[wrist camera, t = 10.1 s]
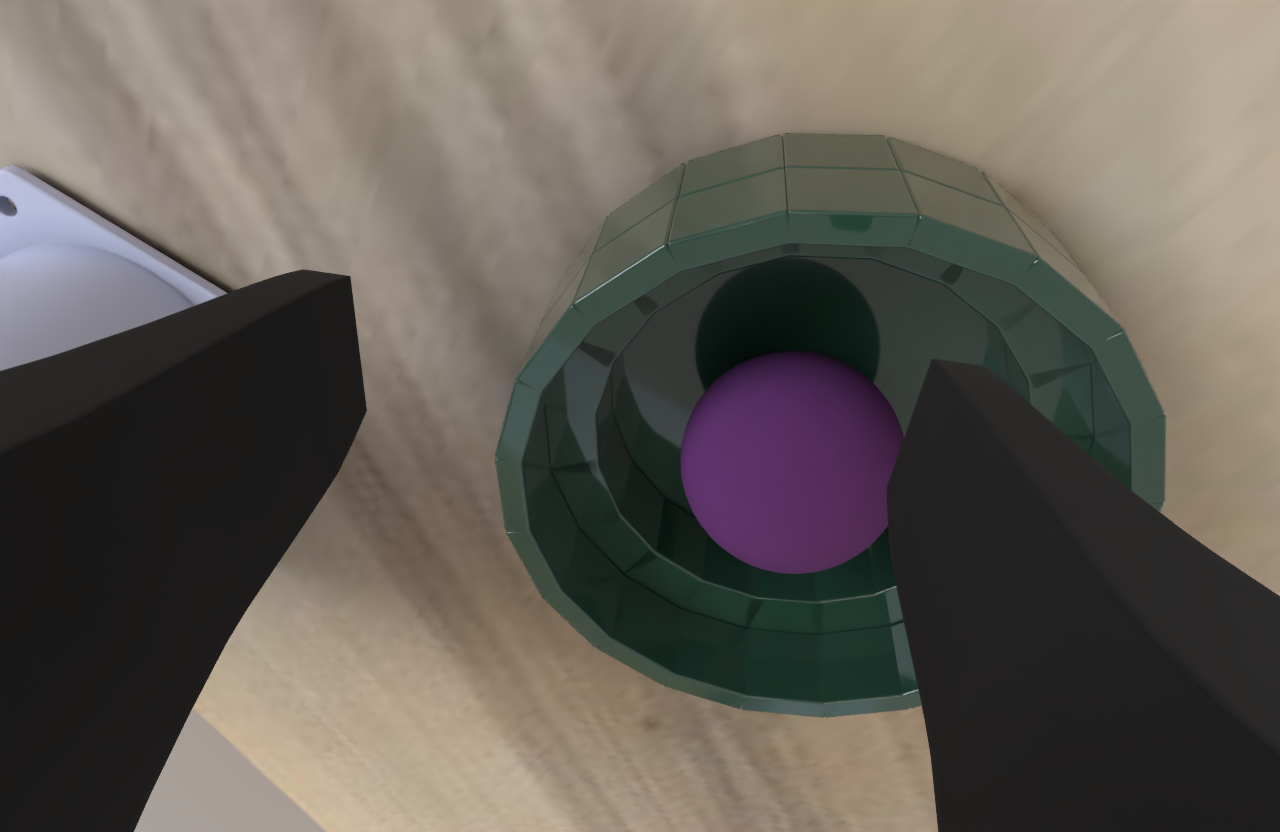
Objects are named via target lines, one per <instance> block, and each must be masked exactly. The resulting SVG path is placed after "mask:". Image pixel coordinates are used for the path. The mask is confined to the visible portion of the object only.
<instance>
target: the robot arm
mask: <svg viewBox="0 0 1280 832" xmlns="http://www.w3.org/2000/svg"><path fill="white" fill-rule="evenodd" d="M8 198H9V199H10V200H11V201H12V202H13V203H14V204H15V206H16V208H17V209H16V208H15V207H13V206H12V205H11V203H10V202H9V200H8ZM366 411H367V409H366V401H365V392H364V384H363V376H362V368H361V360H360V352H359V344H358V336H357V327H356V319H355V311H354V303H353V295H352V287H351V279H350V276H346V275H338V274H331V273H324V272H317V271H310V270H298V271H294V272H290V273H286V274H282V275H279V276H276V277H272V278H269V279H266V280H263V281H260V282H258V283H255V284H252V285H249V286H246V287H243V288H241V289H238V290H235V291H233V292H230V293H227V292H225V291H223V290H222V289H220V288H218V287H217V286H215V285H213V284H212V283H210V282H208V281H207V280H205V279H204V278H202V277H200V276H199V275H197V274H195V273H194V272H192V271H190V270H189V269H187V268H185V267H184V266H182V265H180V264H179V263H177V262H175V261H174V260H172V259H171V258H169V257H167V256H166V255H164V254H162V253H161V252H159V251H157V250H156V249H154V248H152V247H151V246H149V245H147V244H146V243H144V242H142V241H141V240H139V239H137V238H136V237H134V236H133V235H131V234H129V233H128V232H126V231H124V230H123V229H121V228H119V227H118V226H116V225H114V224H113V223H111V222H109V221H108V220H106V219H104V218H103V217H101V216H100V215H98V214H96V213H95V212H93V211H91V210H90V209H88V208H86V207H85V206H83V205H81V204H80V203H78V202H76V201H75V200H73V199H71V198H70V197H68V196H66V195H65V194H63V193H62V192H60V191H58V190H57V189H55V188H53V187H52V186H50V185H48V184H47V183H45V182H43V181H42V180H40V179H38V178H37V177H35V176H33V175H32V174H30V173H29V172H27V171H25V170H23V169H21V168H19V167H16V166H6V167H4V168H2V169H0V832H134V830H135V828H136V825H137V823H138V821H139V819H140V816H141V814H142V812H143V810H144V807H145V805H146V803H147V801H148V799H149V796H150V794H151V792H152V790H153V788H154V786H155V784H156V782H157V780H158V777H159V775H160V773H161V771H162V769H163V767H164V765H165V763H166V761H167V759H168V757H169V755H170V753H171V751H172V749H173V746H174V745H175V743H176V740H177V738H178V736H179V734H180V732H181V730H182V728H183V726H184V723H185V722H186V720H187V718H188V716H189V714H190V712H191V710H192V708H193V706H194V704H195V702H196V700H197V698H198V696H199V695H200V693H201V691H202V689H203V687H204V685H205V683H206V681H207V679H208V677H209V675H210V674H211V672H212V670H213V668H214V666H215V664H216V662H217V660H218V658H219V656H220V654H221V653H222V651H223V649H224V647H225V645H226V643H227V641H228V639H229V638H230V636H231V635H232V633H233V631H234V630H235V628H236V626H237V625H238V623H239V621H240V620H241V618H242V616H243V615H244V613H245V612H246V610H247V608H248V607H249V605H250V604H251V602H252V601H253V599H254V598H255V596H256V595H257V594H258V592H259V591H260V589H261V588H262V586H263V585H264V583H265V582H266V580H267V579H268V577H269V576H270V574H271V573H272V571H273V570H274V568H275V567H276V565H277V564H278V562H279V561H280V559H281V558H282V556H283V555H284V554H285V552H286V551H287V549H288V548H289V546H290V545H291V543H292V542H293V540H294V539H295V537H296V536H297V534H298V533H299V531H300V530H301V528H302V527H303V525H304V524H305V522H306V521H307V519H308V518H309V516H310V515H311V513H312V512H313V510H314V509H315V507H316V506H317V504H318V503H319V501H320V500H321V498H322V497H323V495H324V494H325V492H326V491H327V489H328V488H329V486H330V484H331V483H332V481H333V480H334V478H335V477H336V475H337V473H338V472H339V470H340V468H341V466H342V464H343V461H344V459H345V457H346V455H347V453H348V451H349V449H350V447H351V445H352V443H353V441H354V438H355V436H356V434H357V432H358V429H359V427H360V425H361V423H362V420H363V418H364V416H365V414H366ZM886 491H887V512H888V530H889V543H890V556H891V562H892V567H893V572H894V577H895V582H896V587H897V592H898V597H899V602H900V606H901V611H902V616H903V621H904V625H905V630H906V634H907V639H908V644H909V648H910V653H911V658H912V662H913V667H914V672H915V676H916V681H917V686H918V690H919V695H920V699H921V704H922V709H923V713H924V718H925V724H926V730H927V736H928V742H929V748H930V754H931V763H932V773H933V783H934V792H935V802H936V812H937V822H938V832H1280V596H1279V595H1277V594H1275V593H1274V592H1272V591H1271V590H1269V589H1268V588H1266V587H1265V586H1263V585H1262V584H1260V583H1259V582H1257V581H1256V580H1254V579H1253V578H1251V577H1250V576H1248V575H1247V574H1245V573H1244V572H1242V571H1241V570H1239V569H1238V568H1237V567H1235V566H1234V565H1232V564H1231V563H1229V562H1228V561H1226V560H1225V559H1223V558H1222V557H1220V556H1219V555H1217V554H1216V553H1214V552H1213V551H1211V550H1210V549H1208V548H1207V547H1206V546H1204V545H1203V544H1201V543H1200V542H1199V541H1197V540H1196V539H1194V538H1193V537H1192V536H1190V535H1189V534H1187V533H1186V532H1185V531H1183V530H1182V529H1181V528H1179V527H1178V526H1177V525H1175V524H1174V523H1173V522H1172V521H1170V520H1169V519H1168V518H1166V517H1165V516H1164V515H1163V514H1161V513H1160V512H1159V511H1157V510H1156V509H1155V508H1154V507H1152V506H1151V505H1150V504H1148V503H1147V502H1146V501H1144V500H1143V499H1142V498H1141V497H1139V496H1138V495H1137V494H1135V493H1134V492H1133V491H1132V490H1130V489H1129V488H1128V487H1127V486H1126V485H1124V484H1123V483H1122V482H1121V481H1119V480H1118V479H1117V478H1116V477H1115V476H1113V475H1112V474H1111V473H1110V472H1108V471H1107V470H1106V469H1105V468H1104V467H1103V466H1101V465H1100V464H1099V463H1098V462H1097V461H1095V460H1094V459H1093V458H1092V457H1091V456H1090V455H1088V454H1087V453H1086V452H1085V451H1084V450H1083V449H1081V448H1080V447H1079V446H1078V445H1077V444H1076V443H1074V442H1073V441H1072V440H1071V439H1070V438H1069V437H1068V436H1066V435H1065V434H1064V433H1063V432H1062V431H1061V430H1060V429H1058V428H1057V427H1056V426H1055V425H1054V424H1053V423H1052V422H1051V421H1049V420H1048V419H1047V418H1046V417H1045V416H1044V415H1043V414H1041V413H1040V412H1039V411H1038V410H1037V409H1036V408H1035V407H1034V406H1032V405H1031V404H1030V403H1029V402H1028V401H1027V400H1026V399H1024V398H1023V397H1022V396H1021V395H1020V394H1019V393H1017V392H1016V391H1015V390H1014V389H1013V388H1012V387H1010V386H1009V385H1008V384H1007V383H1006V382H1004V381H1003V380H1002V379H1001V378H999V377H998V376H997V375H996V374H994V373H993V372H991V371H990V370H989V369H987V368H986V367H984V366H981V365H974V364H967V363H960V362H953V361H946V360H939V359H932V360H931V363H930V365H929V368H928V371H927V374H926V377H925V380H924V383H923V385H922V388H921V391H920V394H919V397H918V400H917V402H916V405H915V408H914V411H913V414H912V417H911V420H910V422H909V425H908V428H907V431H906V434H905V437H904V439H903V442H902V445H901V448H900V451H899V454H898V456H897V459H896V462H895V465H894V468H893V471H892V474H891V476H890V479H889V482H888V485H887V488H886Z"/></svg>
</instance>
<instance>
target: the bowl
mask: <svg viewBox="0 0 1280 832" xmlns="http://www.w3.org/2000/svg"><path fill="white" fill-rule="evenodd" d="M788 350H796V351H808V352H815V353H819V354H823V355H827V356H830V357H832V358H835V359H838V360H840V361H842V362H844V363H846V364H848V365H850V366H851V367H853V368H854V369H856V370H857V371H859V372H860V373H862V374H863V375H865V376H866V377H867V378H868V379H869V380H870V381H871V382H873V383H874V384H875V385H876V386H877V388H878V389H879V390H880V391H881V392H882V394H883V395H884V396H885V397H886V399H887V400H888V402H889V403H890V405H891V406H892V408H893V410H894V411H895V414H896V416H897V418H898V421H899V423H900V426H901V428H902V431H903V435H904V437H905V434H906V431H907V428H908V425H909V422H910V420H911V417H912V414H913V411H914V408H915V405H916V402H917V400H918V397H919V394H920V391H921V388H922V385H923V383H924V380H925V377H926V374H927V371H928V368H929V365H930V363H931V360H932V359H939V360H946V361H953V362H960V363H967V364H974V365H981V366H984V367H986V368H987V369H989V370H990V371H991V372H993V373H994V374H996V375H997V376H998V377H999V378H1001V379H1002V380H1003V381H1004V382H1006V383H1007V384H1008V385H1009V386H1010V387H1012V388H1013V389H1014V390H1015V391H1016V392H1017V393H1019V394H1020V395H1021V396H1022V397H1023V398H1024V399H1026V400H1027V401H1028V402H1029V403H1030V404H1031V405H1032V406H1034V407H1035V408H1036V409H1037V410H1038V411H1039V412H1040V413H1041V414H1043V415H1044V416H1045V417H1046V418H1047V419H1048V420H1049V421H1051V422H1052V423H1053V424H1054V425H1055V426H1056V427H1057V428H1058V429H1060V430H1061V431H1062V432H1063V433H1064V434H1065V435H1066V436H1068V437H1069V438H1070V439H1071V440H1072V441H1073V442H1074V443H1076V444H1077V445H1078V446H1079V447H1080V448H1081V449H1083V450H1084V451H1085V452H1086V453H1087V454H1088V455H1090V456H1091V457H1092V458H1093V459H1094V460H1095V461H1097V462H1098V463H1099V464H1100V465H1101V466H1103V467H1104V468H1105V469H1106V470H1107V471H1108V472H1110V473H1111V474H1112V475H1113V476H1115V477H1116V478H1117V479H1118V480H1119V481H1121V482H1122V483H1123V484H1124V485H1126V486H1127V487H1128V488H1129V489H1130V490H1132V491H1133V492H1134V493H1135V494H1137V495H1138V496H1139V497H1141V498H1142V499H1143V500H1144V501H1146V502H1147V503H1148V504H1150V505H1151V506H1152V507H1154V508H1155V509H1156V510H1157V511H1159V512H1160V511H1161V509H1162V507H1163V502H1165V468H1166V416H1165V414H1164V409H1163V407H1162V405H1161V403H1160V401H1159V399H1158V397H1157V395H1156V392H1155V390H1154V388H1153V386H1152V384H1151V382H1150V380H1149V378H1148V376H1147V374H1146V372H1145V370H1144V368H1143V366H1142V363H1141V361H1140V359H1139V357H1138V355H1137V353H1136V351H1135V349H1134V347H1133V345H1132V343H1131V341H1130V339H1129V336H1128V334H1127V332H1126V330H1125V329H1124V328H1123V326H1122V325H1121V323H1120V322H1119V321H1118V319H1117V318H1116V317H1115V315H1114V314H1113V313H1112V311H1111V310H1110V309H1109V307H1108V306H1107V305H1106V303H1105V302H1104V301H1103V299H1102V298H1101V297H1100V295H1099V294H1098V293H1097V291H1096V290H1095V288H1094V287H1093V286H1092V284H1091V283H1090V282H1089V280H1088V279H1087V278H1086V277H1085V275H1084V274H1083V272H1082V271H1081V270H1080V268H1079V267H1078V266H1077V264H1076V263H1075V262H1074V260H1073V259H1072V258H1071V256H1070V255H1069V254H1068V252H1067V251H1066V250H1065V248H1064V247H1063V246H1062V244H1061V243H1060V241H1059V240H1058V239H1057V237H1056V236H1055V235H1054V233H1053V232H1052V231H1051V230H1050V228H1049V227H1048V226H1046V225H1045V224H1044V223H1043V222H1042V221H1041V220H1039V219H1038V218H1037V217H1036V216H1035V215H1034V214H1032V213H1031V212H1030V211H1029V210H1028V209H1027V208H1025V207H1024V206H1023V205H1022V204H1021V203H1020V202H1018V201H1017V200H1016V199H1015V198H1014V197H1013V196H1011V195H1010V194H1009V193H1008V192H1007V191H1006V190H1004V189H1003V188H1002V187H1001V186H1000V185H999V184H997V183H996V182H995V181H994V180H993V179H992V178H990V177H989V176H988V175H987V174H986V173H984V172H980V171H979V170H978V169H977V168H975V167H972V166H969V165H966V164H963V163H961V162H958V161H955V160H952V159H950V158H947V157H944V156H941V155H939V154H936V153H933V152H930V151H928V150H925V149H922V148H919V147H917V146H914V145H911V144H908V143H906V142H903V141H900V140H897V139H894V138H892V137H888V138H887V139H886V137H885V136H883V135H838V134H792V133H786V134H783V136H781V135H775V136H772V137H769V138H765V139H762V140H759V141H755V142H752V143H748V144H745V145H742V146H738V147H735V148H732V149H728V150H725V151H721V152H718V153H715V154H711V155H708V156H705V157H701V158H698V159H694V160H691V161H689V162H687V163H686V164H685V163H683V164H681V165H680V166H678V167H677V168H675V169H674V170H672V171H671V172H670V173H668V174H667V175H665V176H664V177H662V178H661V179H659V180H658V181H656V182H655V183H654V184H652V185H651V186H649V187H648V188H646V189H645V190H643V191H642V192H641V193H639V194H638V195H636V196H635V197H633V198H632V199H630V200H629V201H627V202H626V203H625V204H623V205H622V206H620V207H619V208H617V209H616V210H614V211H613V212H612V213H610V215H609V216H607V217H606V218H605V220H604V221H603V223H602V224H601V225H600V227H599V228H598V229H597V231H596V232H595V234H594V235H593V236H592V238H591V239H590V240H589V242H588V243H587V244H586V246H585V247H584V249H583V250H582V251H581V253H580V254H579V255H578V257H577V258H576V260H575V261H574V262H573V264H572V265H571V266H570V268H569V269H568V270H567V272H566V273H565V275H564V276H563V277H562V279H561V280H560V282H559V284H558V286H557V289H556V291H555V293H554V295H553V297H552V300H551V302H550V304H549V306H548V308H547V310H546V313H545V315H544V317H543V319H542V321H541V324H540V326H539V328H538V330H537V332H536V335H535V337H534V339H533V341H532V343H531V346H530V348H529V350H528V352H527V354H526V356H525V359H524V361H523V363H522V365H521V367H520V370H519V372H518V374H517V376H516V378H515V381H514V384H513V388H512V392H511V396H510V399H509V403H508V407H507V411H506V415H505V418H504V422H503V426H502V430H501V434H500V437H499V441H498V445H497V449H496V453H495V456H496V458H495V464H496V471H497V478H498V485H499V492H500V499H501V505H502V512H503V519H504V526H505V531H506V533H507V536H508V538H509V540H510V541H511V543H512V545H513V547H514V549H515V550H516V552H517V554H518V556H519V558H520V559H521V561H522V563H523V565H524V567H525V568H526V570H527V572H528V574H529V576H530V577H531V579H532V581H533V583H534V585H535V586H536V588H537V590H538V592H539V594H540V595H542V598H543V599H544V600H545V601H546V602H547V603H548V604H549V605H550V606H551V607H552V608H553V609H554V610H555V611H556V612H557V613H558V614H560V615H561V616H562V617H563V618H564V619H565V620H566V621H567V622H568V623H569V624H570V625H571V626H572V627H573V628H574V629H575V630H576V631H577V632H578V633H580V634H581V635H582V636H583V637H584V638H585V639H586V640H587V641H588V642H589V643H590V644H591V645H592V646H593V647H595V648H596V647H597V649H598V650H600V651H601V652H603V653H605V654H607V655H609V656H610V657H612V658H614V659H616V660H618V661H619V662H621V663H623V664H625V665H627V666H628V667H630V668H632V669H634V670H636V671H637V672H639V673H641V674H643V675H645V676H646V677H648V678H650V679H652V680H654V681H655V682H657V683H659V684H661V685H664V686H665V687H668V688H671V689H674V690H678V691H681V692H684V693H688V694H691V695H694V696H697V697H701V698H704V699H707V700H711V701H714V702H717V703H721V704H724V705H727V706H731V707H734V708H737V709H742V710H749V711H759V712H770V713H780V714H790V715H801V716H811V717H822V718H823V717H824V716H825V717H836V716H847V715H857V714H868V713H878V712H889V711H899V710H908V709H909V708H915V707H919V706H922V704H921V699H920V695H919V690H918V686H917V681H916V676H915V672H914V667H913V662H912V658H911V653H910V648H909V644H908V639H907V634H906V630H905V625H904V621H903V616H902V611H901V606H900V602H899V597H898V592H897V587H896V582H895V577H894V572H893V567H892V562H891V556H890V543H889V530H888V526H887V527H886V529H885V530H884V532H883V533H882V534H881V535H880V536H879V537H878V538H877V539H876V540H875V541H874V542H873V543H872V544H871V545H870V546H869V547H868V548H867V549H865V550H864V551H863V552H861V553H860V554H858V555H857V556H855V557H853V558H852V559H850V560H848V561H847V562H845V563H842V564H840V565H838V566H835V567H832V568H829V569H826V570H822V571H817V572H812V573H803V574H786V573H777V572H772V571H767V570H764V569H760V568H757V567H755V566H752V565H750V564H747V563H745V562H743V561H741V560H739V559H738V558H736V557H735V556H733V555H731V554H730V553H728V552H727V551H726V550H724V549H723V548H722V547H721V546H719V545H718V544H717V543H716V542H715V541H714V540H713V539H712V538H711V537H710V536H709V535H708V533H707V532H706V531H705V530H704V528H703V527H702V526H701V524H700V523H699V522H698V520H697V518H696V517H695V515H694V513H693V511H692V509H691V507H690V504H689V502H688V499H687V497H686V494H685V490H684V486H683V482H682V476H681V466H680V465H681V445H682V441H683V437H684V432H685V428H686V425H687V423H688V420H689V418H690V415H691V413H692V411H693V409H694V407H695V406H696V404H697V402H698V401H699V399H700V398H701V396H702V395H703V394H704V393H705V391H706V390H707V389H708V388H709V387H710V386H711V385H712V383H713V382H714V381H716V380H717V379H718V378H719V377H720V376H721V375H723V374H724V373H725V372H727V371H728V370H730V369H731V368H733V367H734V366H736V365H738V364H739V363H742V362H744V361H746V360H748V359H751V358H754V357H757V356H760V355H763V354H766V353H772V352H777V351H788Z"/></svg>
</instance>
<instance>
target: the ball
mask: <svg viewBox="0 0 1280 832" xmlns="http://www.w3.org/2000/svg"><path fill="white" fill-rule="evenodd" d="M903 439H904V435H903V431H902V428H901V426H900V423H899V421H898V418H897V416H896V414H895V411H894V410H893V408H892V406H891V405H890V403H889V402H888V400H887V399H886V397H885V396H884V395H883V394H882V392H881V391H880V390H879V389H878V388H877V386H876V385H875V384H874V383H873V382H871V381H870V380H869V379H868V378H867V377H866V376H865V375H863V374H862V373H860V372H859V371H857V370H856V369H854V368H853V367H851V366H850V365H848V364H846V363H844V362H842V361H840V360H838V359H835V358H832V357H830V356H827V355H823V354H819V353H815V352H808V351H796V350H788V351H777V352H772V353H766V354H763V355H760V356H757V357H754V358H751V359H748V360H746V361H744V362H742V363H739V364H738V365H736V366H734V367H733V368H731V369H730V370H728V371H727V372H725V373H724V374H723V375H721V376H720V377H719V378H718V379H717V380H716V381H714V382H713V383H712V385H711V386H710V387H709V388H708V389H707V390H706V391H705V393H704V394H703V395H702V396H701V398H700V399H699V401H698V402H697V404H696V406H695V407H694V409H693V411H692V413H691V415H690V418H689V420H688V423H687V425H686V428H685V432H684V437H683V441H682V445H681V465H680V466H681V476H682V482H683V486H684V490H685V494H686V497H687V499H688V502H689V504H690V507H691V509H692V511H693V513H694V515H695V517H696V518H697V520H698V522H699V523H700V524H701V526H702V527H703V528H704V530H705V531H706V532H707V533H708V535H709V536H710V537H711V538H712V539H713V540H714V541H715V542H716V543H717V544H718V545H719V546H721V547H722V548H723V549H724V550H726V551H727V552H728V553H730V554H731V555H733V556H735V557H736V558H738V559H739V560H741V561H743V562H745V563H747V564H750V565H752V566H755V567H757V568H760V569H764V570H767V571H772V572H777V573H786V574H803V573H812V572H817V571H822V570H826V569H829V568H832V567H835V566H838V565H840V564H842V563H845V562H847V561H848V560H850V559H852V558H853V557H855V556H857V555H858V554H860V553H861V552H863V551H864V550H865V549H867V548H868V547H869V546H870V545H871V544H872V543H873V542H874V541H875V540H876V539H877V538H878V537H879V536H880V535H881V534H882V533H883V532H884V530H885V529H886V527H887V526H888V512H887V491H886V488H887V485H888V482H889V479H890V476H891V474H892V471H893V468H894V465H895V462H896V459H897V456H898V454H899V451H900V448H901V445H902V442H903Z"/></svg>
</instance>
